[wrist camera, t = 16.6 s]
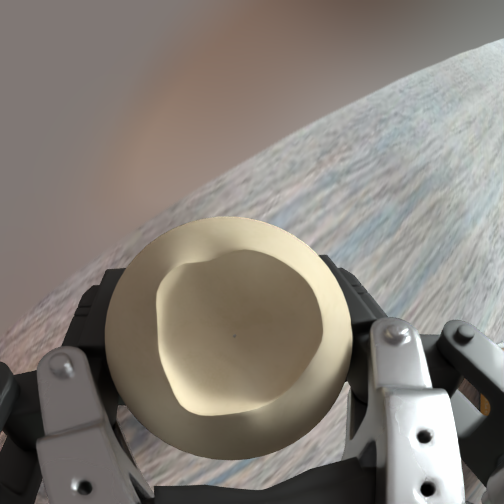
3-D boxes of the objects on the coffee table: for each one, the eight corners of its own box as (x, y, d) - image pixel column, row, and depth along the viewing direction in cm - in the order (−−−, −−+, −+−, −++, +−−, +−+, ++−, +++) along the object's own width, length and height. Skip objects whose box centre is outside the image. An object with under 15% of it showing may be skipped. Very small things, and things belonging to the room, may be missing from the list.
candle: (227, 423, 13) (266, 531, 4) (138, 351, 14) (26, 341, 4) (296, 336, 15) (427, 303, 6) (210, 267, 16) (218, 137, 6)
